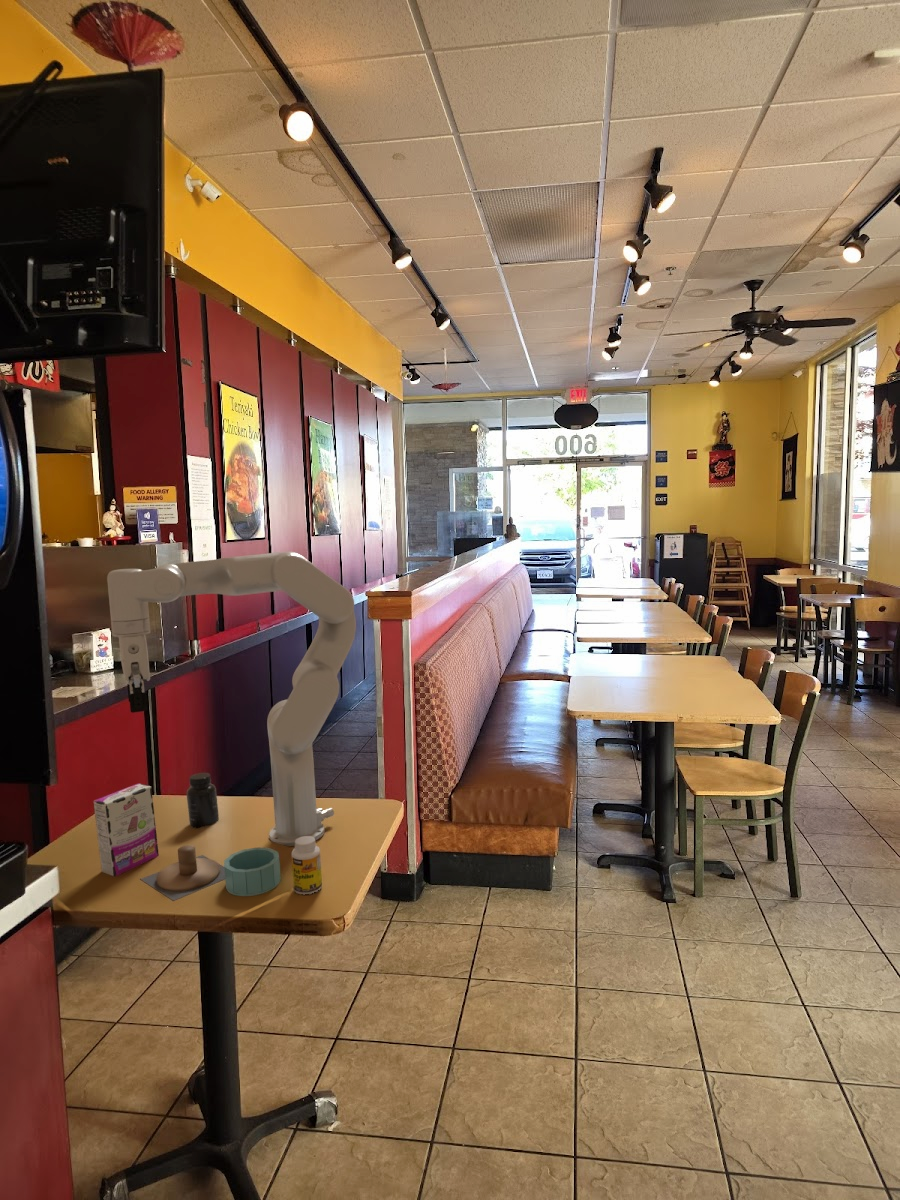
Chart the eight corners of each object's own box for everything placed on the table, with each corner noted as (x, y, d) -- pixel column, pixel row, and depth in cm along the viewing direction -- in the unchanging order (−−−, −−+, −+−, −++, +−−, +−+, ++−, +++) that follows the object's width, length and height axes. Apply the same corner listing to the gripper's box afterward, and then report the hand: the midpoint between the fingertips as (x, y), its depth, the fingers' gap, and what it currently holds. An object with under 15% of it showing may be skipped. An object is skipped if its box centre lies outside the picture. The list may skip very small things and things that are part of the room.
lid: (200, 857, 169) (198, 830, 168) (231, 874, 160) (229, 846, 160) (145, 878, 160) (143, 851, 159) (175, 897, 151) (172, 868, 151)
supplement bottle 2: (289, 895, 152) (286, 845, 150) (299, 881, 157) (296, 833, 156) (317, 896, 151) (313, 846, 149) (326, 883, 156) (323, 834, 155)
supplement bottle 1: (207, 815, 194) (203, 769, 192) (224, 821, 190) (221, 773, 188) (183, 825, 188) (179, 777, 187) (201, 831, 184) (197, 782, 183)
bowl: (261, 868, 164) (259, 843, 163) (291, 883, 157) (289, 857, 156) (216, 887, 156) (214, 861, 155) (245, 904, 149) (243, 877, 148)
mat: (202, 857, 170) (202, 854, 170) (237, 876, 160) (237, 873, 160) (140, 881, 160) (140, 879, 160) (173, 903, 150) (173, 900, 150)
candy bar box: (145, 853, 173) (138, 782, 171) (159, 857, 171) (153, 785, 169) (99, 874, 164) (92, 799, 162) (114, 879, 161) (106, 803, 159)
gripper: (152, 631, 158) (159, 713, 160) (147, 620, 174) (153, 695, 176) (112, 634, 155) (119, 718, 157) (110, 624, 171) (117, 700, 173)
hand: (137, 706), depth 167 cm, fingers open, 9 cm apart
